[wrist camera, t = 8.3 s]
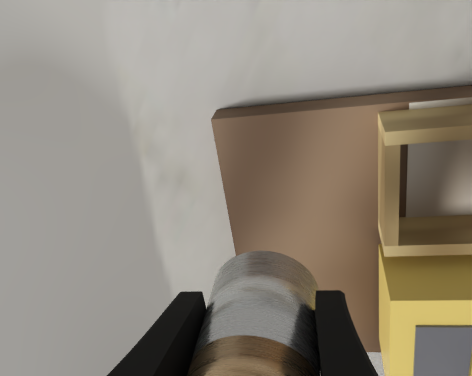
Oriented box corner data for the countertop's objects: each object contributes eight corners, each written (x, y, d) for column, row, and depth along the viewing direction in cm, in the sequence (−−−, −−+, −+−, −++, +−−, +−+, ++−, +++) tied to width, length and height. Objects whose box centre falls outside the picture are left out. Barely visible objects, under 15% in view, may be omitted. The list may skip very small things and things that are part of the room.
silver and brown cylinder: (268, 231, 12) (241, 401, 8) (341, 301, 13) (354, 491, 8) (193, 285, 13) (133, 455, 9) (263, 345, 14) (239, 528, 10)
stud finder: (506, 240, 18) (545, 302, 15) (491, 339, 21) (521, 409, 18) (378, 244, 19) (390, 302, 16) (379, 337, 22) (389, 404, 19)
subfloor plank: (626, 70, 16) (690, 98, 13) (559, 335, 22) (594, 392, 19) (216, 109, 19) (200, 139, 16) (255, 333, 25) (248, 382, 22)
